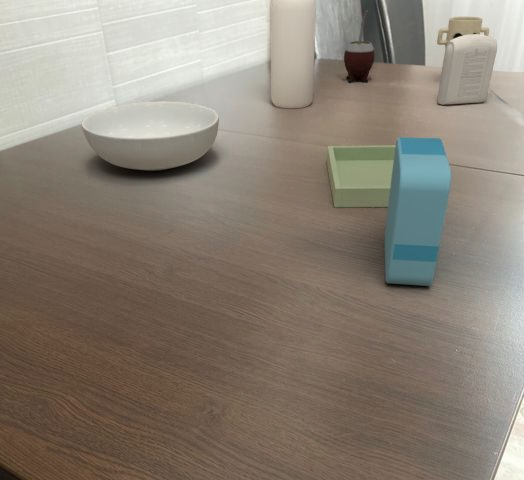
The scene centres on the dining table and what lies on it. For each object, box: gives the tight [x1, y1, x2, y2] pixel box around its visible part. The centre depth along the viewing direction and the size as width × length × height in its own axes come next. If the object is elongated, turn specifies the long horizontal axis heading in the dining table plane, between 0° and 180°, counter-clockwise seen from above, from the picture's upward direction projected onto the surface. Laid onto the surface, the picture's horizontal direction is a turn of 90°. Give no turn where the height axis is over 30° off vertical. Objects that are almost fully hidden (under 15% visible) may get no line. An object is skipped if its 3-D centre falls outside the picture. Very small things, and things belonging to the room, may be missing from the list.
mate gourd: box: [343, 10, 375, 84], centre depth 128 cm, size 8×8×15 cm
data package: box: [384, 136, 452, 287], centre depth 57 cm, size 12×4×12 cm, turn 171°
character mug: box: [436, 16, 490, 50], centre depth 125 cm, size 11×7×13 cm, turn 84°
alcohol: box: [269, 0, 317, 109], centre depth 108 cm, size 9×9×30 cm
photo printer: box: [436, 33, 498, 106], centre depth 111 cm, size 10×4×12 cm, turn 102°
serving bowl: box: [80, 100, 220, 172], centre depth 87 cm, size 21×21×7 cm
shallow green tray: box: [326, 144, 396, 208], centre depth 79 cm, size 14×18×3 cm
